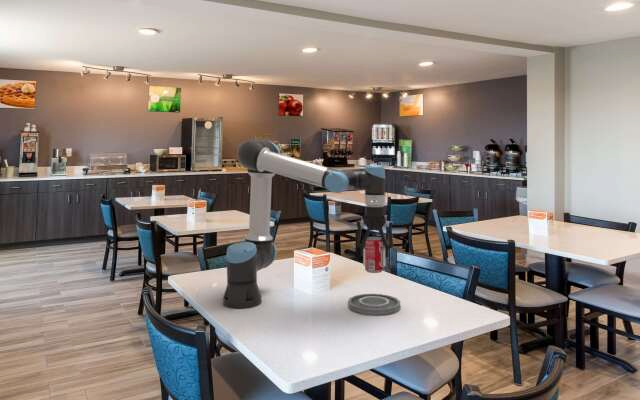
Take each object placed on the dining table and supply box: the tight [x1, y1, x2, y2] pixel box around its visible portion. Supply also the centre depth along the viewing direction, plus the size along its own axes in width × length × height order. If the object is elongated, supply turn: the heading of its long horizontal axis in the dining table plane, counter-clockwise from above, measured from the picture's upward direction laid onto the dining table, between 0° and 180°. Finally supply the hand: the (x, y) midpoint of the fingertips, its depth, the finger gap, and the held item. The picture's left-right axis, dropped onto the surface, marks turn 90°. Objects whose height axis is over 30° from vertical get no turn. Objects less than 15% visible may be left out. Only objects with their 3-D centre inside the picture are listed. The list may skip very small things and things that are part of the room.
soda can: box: [364, 236, 385, 274], centre depth 180 cm, size 7×7×13 cm
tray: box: [347, 293, 401, 317], centre depth 182 cm, size 20×20×2 cm
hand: (374, 265), depth 181 cm, fingers closed on soda can, 7 cm apart
